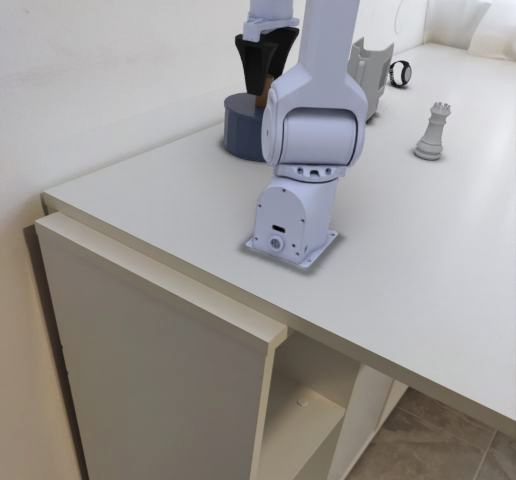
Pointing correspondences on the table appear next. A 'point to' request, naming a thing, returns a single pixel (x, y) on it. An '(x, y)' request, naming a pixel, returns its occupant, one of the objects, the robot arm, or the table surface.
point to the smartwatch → (404, 74)
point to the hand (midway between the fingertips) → (263, 87)
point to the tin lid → (249, 103)
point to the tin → (243, 137)
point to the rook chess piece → (433, 133)
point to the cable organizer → (370, 71)
